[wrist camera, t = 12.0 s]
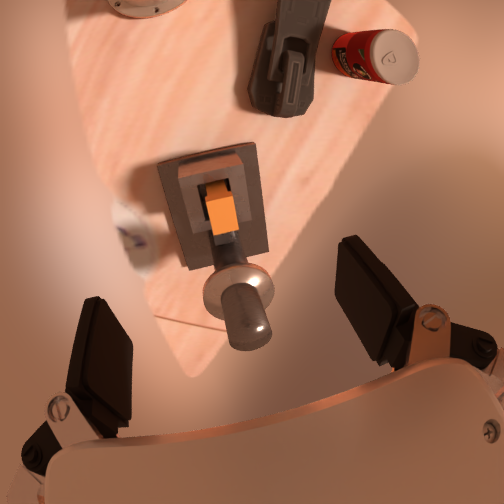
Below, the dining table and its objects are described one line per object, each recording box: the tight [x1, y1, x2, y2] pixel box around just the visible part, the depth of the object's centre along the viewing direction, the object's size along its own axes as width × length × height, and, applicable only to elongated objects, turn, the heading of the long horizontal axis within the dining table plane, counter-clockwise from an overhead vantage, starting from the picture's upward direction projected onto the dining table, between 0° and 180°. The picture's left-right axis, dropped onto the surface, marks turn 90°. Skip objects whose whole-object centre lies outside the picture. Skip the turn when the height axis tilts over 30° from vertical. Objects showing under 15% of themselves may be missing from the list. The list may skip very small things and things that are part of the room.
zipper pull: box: [248, 0, 331, 118], centre depth 28 cm, size 9×7×25 cm
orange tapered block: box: [205, 179, 239, 235], centre depth 36 cm, size 4×3×10 cm
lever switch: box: [157, 142, 274, 351], centre depth 36 cm, size 19×14×21 cm
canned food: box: [332, 29, 419, 85], centre depth 29 cm, size 8×8×11 cm
